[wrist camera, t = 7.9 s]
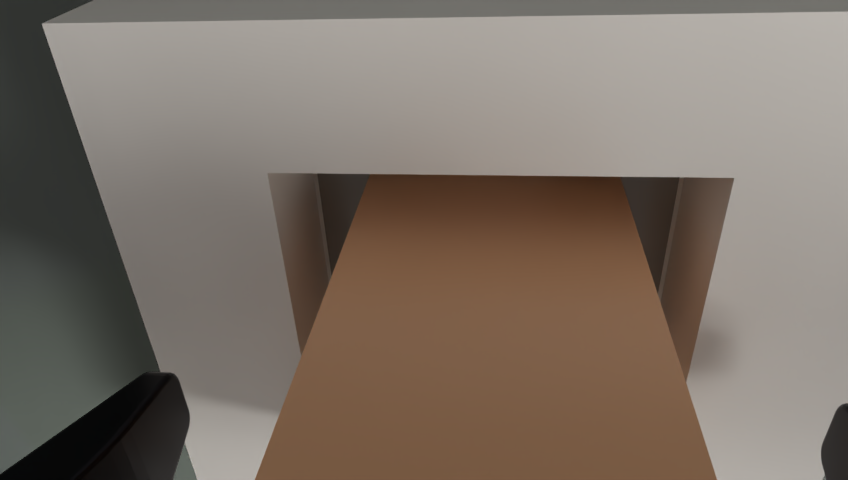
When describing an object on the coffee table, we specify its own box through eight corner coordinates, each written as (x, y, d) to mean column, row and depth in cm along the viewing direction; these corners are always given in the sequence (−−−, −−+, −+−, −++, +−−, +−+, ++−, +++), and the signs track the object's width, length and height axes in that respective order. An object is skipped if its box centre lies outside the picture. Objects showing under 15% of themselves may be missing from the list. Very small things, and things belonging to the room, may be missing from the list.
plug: (619, 175, 10) (787, 700, 4) (595, 364, 13) (683, 897, 6) (369, 174, 11) (190, 647, 5) (387, 357, 13) (281, 846, 7)
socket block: (886, -43, 9) (1066, 23, 6) (736, 438, 15) (796, 598, 12) (151, -26, 11) (10, 36, 8) (259, 414, 16) (202, 553, 13)
